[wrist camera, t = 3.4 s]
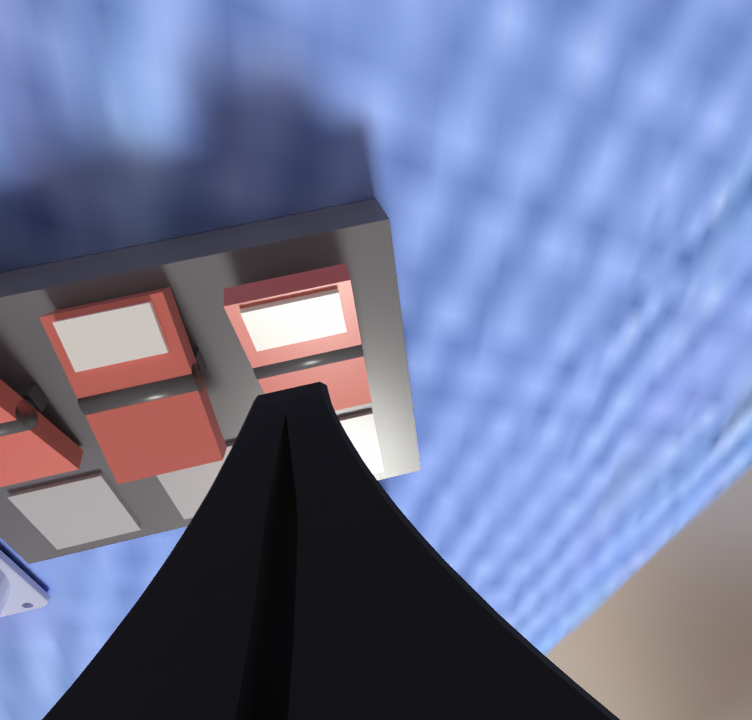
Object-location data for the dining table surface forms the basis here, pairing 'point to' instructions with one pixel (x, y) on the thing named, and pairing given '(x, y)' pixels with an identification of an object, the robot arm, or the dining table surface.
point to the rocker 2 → (137, 383)
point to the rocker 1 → (31, 442)
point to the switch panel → (213, 356)
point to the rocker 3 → (302, 333)
